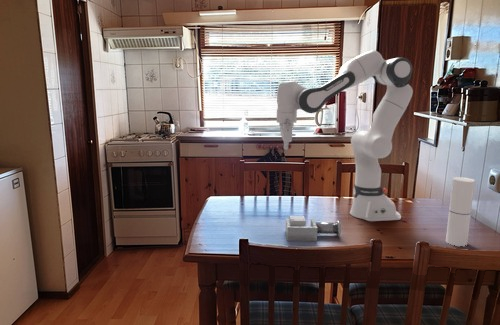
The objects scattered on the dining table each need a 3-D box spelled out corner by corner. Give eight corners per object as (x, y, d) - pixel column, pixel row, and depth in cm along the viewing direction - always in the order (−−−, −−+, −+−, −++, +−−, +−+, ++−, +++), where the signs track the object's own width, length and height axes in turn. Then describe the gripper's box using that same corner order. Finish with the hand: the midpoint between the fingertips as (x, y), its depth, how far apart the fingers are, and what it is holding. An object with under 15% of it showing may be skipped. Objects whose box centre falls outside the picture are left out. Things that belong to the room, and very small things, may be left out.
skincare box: (303, 232, 150) (304, 215, 149) (305, 238, 144) (306, 220, 143) (288, 232, 150) (289, 215, 149) (290, 238, 144) (290, 220, 143)
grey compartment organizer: (336, 231, 151) (337, 216, 150) (341, 241, 141) (342, 225, 140) (285, 230, 152) (285, 216, 150) (287, 240, 142) (287, 225, 140)
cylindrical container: (447, 244, 138) (454, 180, 133) (444, 237, 145) (451, 176, 140) (468, 247, 136) (476, 182, 131) (465, 240, 142) (472, 178, 137)
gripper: (295, 120, 152) (294, 153, 154) (292, 116, 172) (291, 145, 174) (280, 120, 152) (279, 153, 154) (278, 116, 172) (278, 145, 175)
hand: (285, 149), depth 165 cm, fingers closed
